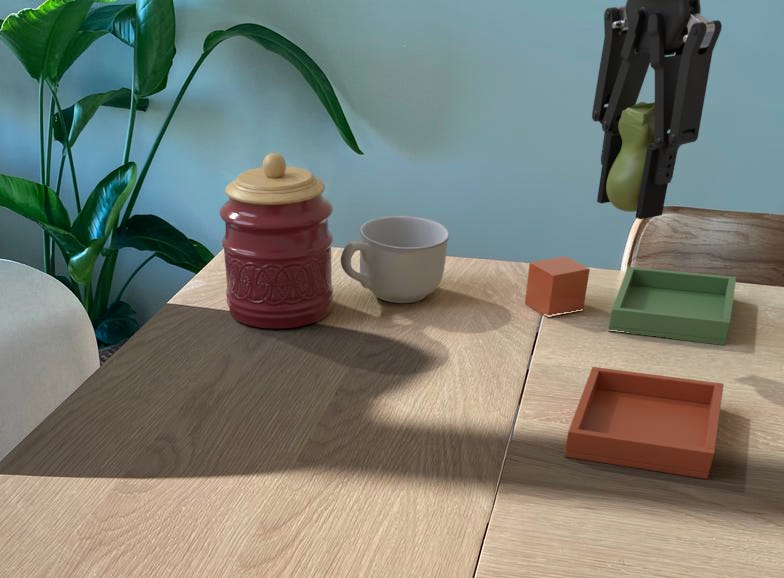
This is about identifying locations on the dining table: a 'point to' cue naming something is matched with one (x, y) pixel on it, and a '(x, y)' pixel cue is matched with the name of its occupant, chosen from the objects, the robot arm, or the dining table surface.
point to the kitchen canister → (277, 246)
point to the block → (556, 285)
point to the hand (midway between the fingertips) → (628, 207)
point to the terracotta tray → (646, 422)
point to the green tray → (674, 305)
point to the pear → (631, 156)
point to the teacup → (399, 257)
